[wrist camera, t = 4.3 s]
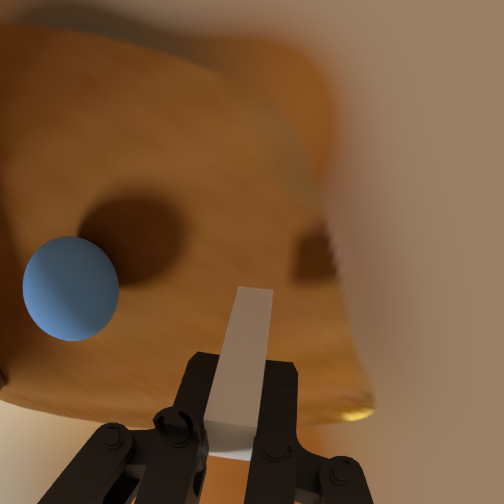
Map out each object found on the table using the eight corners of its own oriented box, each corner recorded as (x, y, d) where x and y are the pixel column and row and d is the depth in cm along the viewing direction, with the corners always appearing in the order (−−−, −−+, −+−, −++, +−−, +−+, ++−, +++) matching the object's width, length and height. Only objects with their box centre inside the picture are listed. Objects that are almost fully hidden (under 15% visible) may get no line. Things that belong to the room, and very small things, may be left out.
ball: (141, 306, 18) (102, 373, 13) (71, 292, 18) (26, 347, 14) (127, 222, 15) (68, 281, 10) (51, 217, 16) (-10, 264, 11)
